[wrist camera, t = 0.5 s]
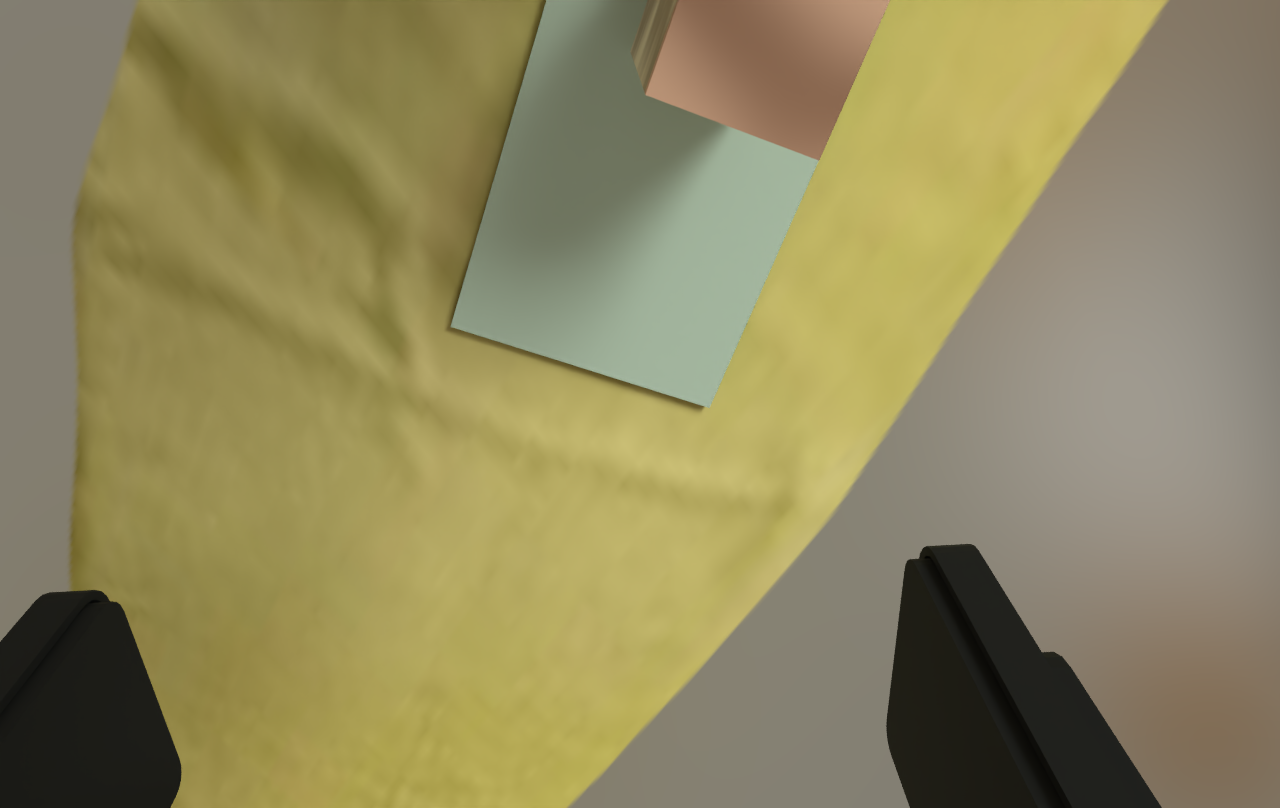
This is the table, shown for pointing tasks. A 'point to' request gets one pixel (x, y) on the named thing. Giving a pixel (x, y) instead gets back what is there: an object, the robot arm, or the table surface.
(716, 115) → the birch pillar
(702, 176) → the sage mat
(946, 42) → the table surface
